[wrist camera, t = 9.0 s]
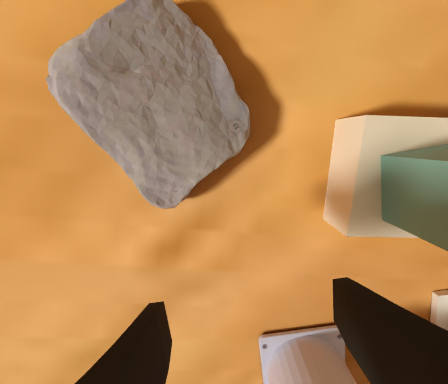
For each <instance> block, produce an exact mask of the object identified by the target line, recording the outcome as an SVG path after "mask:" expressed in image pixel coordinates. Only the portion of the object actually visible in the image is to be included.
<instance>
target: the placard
mask: <svg viewBox="0 0 448 384" xmlns="http://www.w3.org/2000/svg"><path fill="white" fill-rule="evenodd" d="M430 322H431V323H433V324H435V325H437V326H439V327H441V328H444V329H446V330H448V290H442V291H434V292H432V302H431V314H430Z"/></svg>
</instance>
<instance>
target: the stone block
mask: <svg viewBox="0 0 448 384" xmlns="http://www.w3.org/2000/svg"><path fill="white" fill-rule="evenodd" d="M48 71H49V76H48V77H46V81H47V83H48V89H49V91H50V92H51V94H52V95H53V96H54V98H55V99H56V100H57V102H58V103H59V105H60V106H61V107H62V108H63V110H64V111H65V112H66V113H67V114H68V115H69V116H70V117H71V118H72V119H73V120H74V121H75V122H76V123H77V124H78V125H79V126H80V128H81V129H82V130H83V131H84V132H85V133H86V134H87V135H88V136H89V137H90V138H91V139H92V140H93V141H94V142H95V143H96V144H97V145H99V146H100V147H101V148H102V149H103V150H104V151H105V152H107V153H108V154H109V155H110V156H111V157H112V158H113V159H114V160H115V161H116V162H117V163H118V164H119V165H120V166H121V167H122V169H123V170H124V171H125V173H126V174H127V175H128V176H129V177H130V178H131V179H132V180H133V182H134V184H135V185H136V187H137V188H138V190H139V192H140V193H141V195H142V196H143V197H144V198H145V199H146V200H147V201H148V202H149V203H150V204H152V205H154V206H156V207H159V208H163V209H167V208H175V207H176V206H177V205H178V204H179V203H180V202H181V201H183V200H184V199H185V198H186V197H187V196H188V195H189V194H190V192H191V190H192V189H193V188H194V187H195V186H196V185H197V184H198V183H199V182H200V181H201V180H202V179H203V178H205V177H206V176H207V175H209V174H210V173H211V172H212V171H213V170H215V169H217V168H218V167H219V166H220V165H222V164H223V163H224V162H225V161H226V160H227V159H229V158H232V157H234V156H236V155H237V154H239V153H240V151H241V150H242V149H243V147H244V145H245V143H246V141H247V139H248V138H249V136H250V111H249V109H248V107H247V105H246V104H245V103H244V102H243V100H241V99H240V97H239V95H238V93H237V91H236V88H235V86H234V81H233V79H232V76H231V74H230V72H229V70H228V67H227V65H226V63H225V62H224V60H223V58H222V57H221V55H220V54H219V52H218V50H217V48H216V47H215V45H214V43H213V42H212V40H211V39H210V38H209V37H208V35H207V34H206V33H205V32H204V31H203V30H202V29H200V28H199V27H198V26H197V25H195V24H193V21H192V20H191V18H190V17H189V16H188V15H187V14H185V13H184V12H183V11H182V10H181V9H180V8H179V7H178V6H177V5H176V4H175V3H174V2H173V0H126V1H125V2H124V3H122V4H120V5H118V6H117V7H115V8H114V9H112V10H110V11H109V12H107V13H106V14H104V15H103V16H102V17H100V18H99V19H97V20H95V21H94V22H93V24H92V25H91V26H90V27H89V28H88V29H87V30H86V31H85V32H84V33H82V34H80V35H78V36H76V37H74V38H72V39H71V40H69V41H68V42H66V43H64V44H63V45H62V46H61V47H59V48H58V49H57V50H56V51H55V53H54V54H53V56H52V57H51V58H50V59H49V64H48Z"/></svg>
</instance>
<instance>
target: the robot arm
mask: <svg viewBox="0 0 448 384" xmlns="http://www.w3.org/2000/svg"><path fill="white" fill-rule="evenodd" d="M333 311H334V322H335V324H336V325H332V326H324V327H317V328H309V329H302V330H294V331H287V332H279V333H272V334H264V335H261V336H260V337H259V348H260V356H261V365H262V374H263V383H264V384H357V383H356V381H355V379H354V378H353V376H352V374H351V372H350V371H349V369H348V367H347V365H346V364H345V344H346V346H347V347H348V349H349V350H350V352H351V354H352V355H353V357H354V358H355V360H356V361H357V363H358V365H359V366H360V368H361V369H362V371H363V372H364V374H365V375H366V377H367V378H368V380H369V381H370V383H371V384H448V330H446V329H444V328H441V327H439V326H437V325H435V324H433V323H431V322H429V321H427V320H425V319H423V318H421V317H419V316H417V315H415V314H413V313H411V312H410V311H408V310H406V309H404V308H402V307H400V306H398V305H396V304H395V303H393V302H391V301H389V300H387V299H386V298H384V297H382V296H380V295H378V294H377V293H375V292H373V291H371V290H370V289H368V288H366V287H364V286H362V285H361V284H359V283H357V282H355V281H353V280H351V279H349V278H347V277H346V278H339V279H333ZM339 334H340V335H339ZM264 344H266V345H264ZM171 347H172V338H171V334H170V329H169V324H168V320H167V315H166V310H165V306H164V301H163V302H156V303H149V304H148V305H147V306H146V308H145V309H144V310H143V311H142V312H141V313H140V315H139V316H138V317H137V318H136V319H135V320H134V322H133V323H132V324H131V325H130V326H129V327H128V328H127V330H126V331H125V332H124V333H123V334H122V335H121V336H120V338H119V339H118V340H117V341H116V342H115V343H114V344H113V345H112V346H111V347H110V348H109V350H108V351H107V352H106V353H105V354H104V355H103V356H102V357H101V358H100V359H99V360H98V361H97V362H96V363H95V364H94V365H93V366H92V367H91V368H90V369H89V370H88V371H87V372H86V373H85V374H84V375H83V376H82V377H81V378H80V379H79V380H78V381H77V382H76V383H75V384H165V383H166V378H167V374H168V370H169V363H170V356H171Z"/></svg>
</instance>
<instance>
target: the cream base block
mask: <svg viewBox="0 0 448 384" xmlns="http://www.w3.org/2000/svg"><path fill="white" fill-rule="evenodd" d="M444 144H448V118H437V117H409V116H381V115H363V116H356V117H350V118H344V119H338V120H336V122H335V130H334V137H333V145H332V153H331V160H330V168H329V176H328V183H327V191H326V199H325V206H324V214H323V219H324V220H325V221H327V222H328V223H329V224H331V225H332V226H333V227H335V228H336V229H337V230H339V231H340V232H341V233H343V234H344V235H345V236H347V237H415V238H419V237H417V236H415V235H413V234H411V233H408V232H406V231H404V230H402V229H400V228H398V227H396V226H394V225H392V224H390V223H387V222H385V221H383V220H382V188H381V155H387V154H392V153H398V152H404V151H410V150H415V149H421V148H427V147H433V146H439V145H444Z"/></svg>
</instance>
